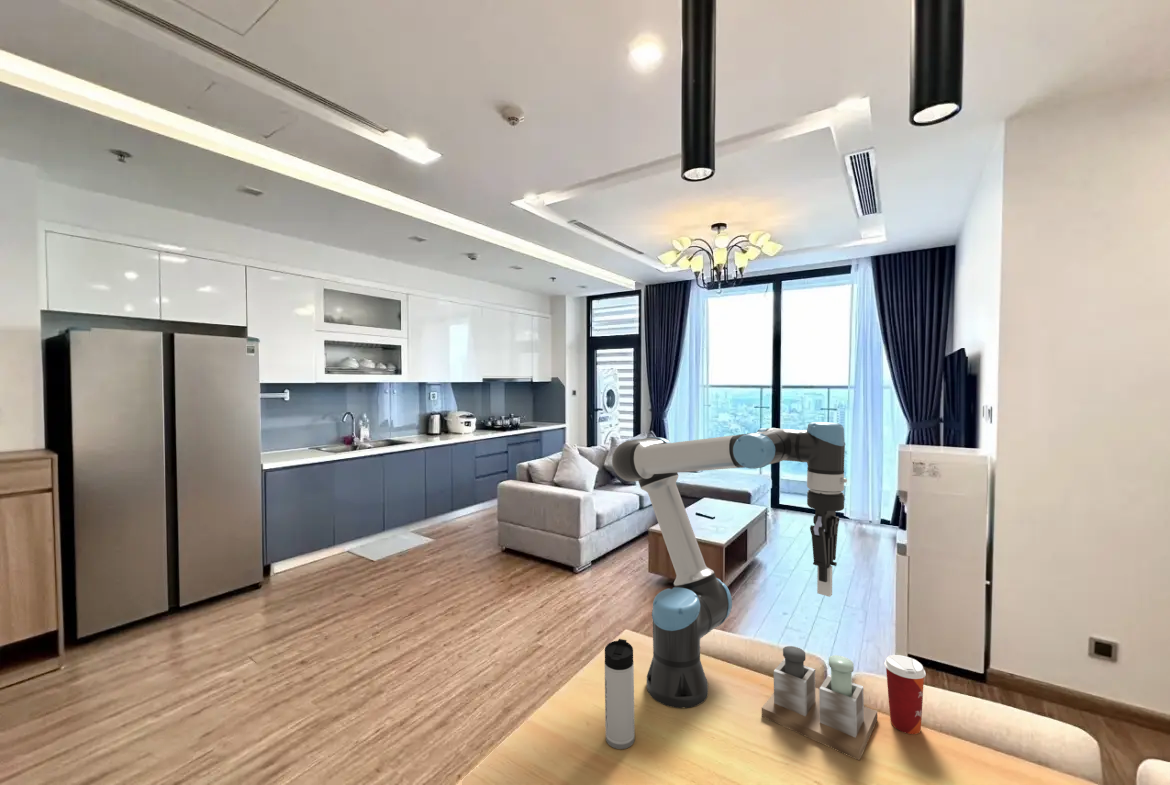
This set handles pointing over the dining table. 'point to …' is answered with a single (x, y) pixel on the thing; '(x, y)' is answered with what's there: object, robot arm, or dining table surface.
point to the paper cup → (905, 692)
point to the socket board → (821, 711)
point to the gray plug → (794, 661)
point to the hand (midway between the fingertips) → (824, 593)
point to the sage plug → (841, 674)
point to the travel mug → (619, 694)
